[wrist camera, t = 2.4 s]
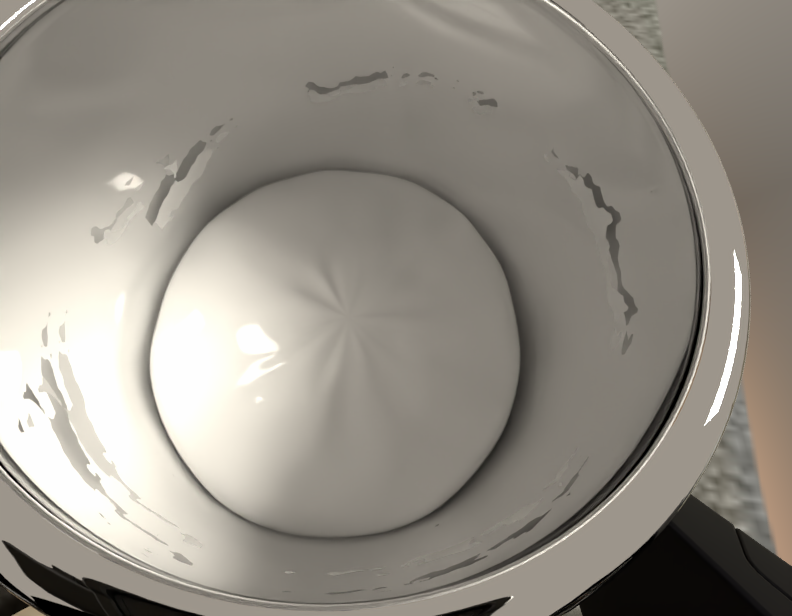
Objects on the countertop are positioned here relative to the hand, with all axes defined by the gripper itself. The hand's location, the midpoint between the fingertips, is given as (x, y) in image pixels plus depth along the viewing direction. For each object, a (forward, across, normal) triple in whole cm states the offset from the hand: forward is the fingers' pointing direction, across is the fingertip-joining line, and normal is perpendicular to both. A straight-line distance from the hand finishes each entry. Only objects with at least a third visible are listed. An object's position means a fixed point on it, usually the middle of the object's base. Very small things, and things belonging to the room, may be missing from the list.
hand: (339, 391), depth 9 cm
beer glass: (+7, 0, +6) cm, 9 cm away
